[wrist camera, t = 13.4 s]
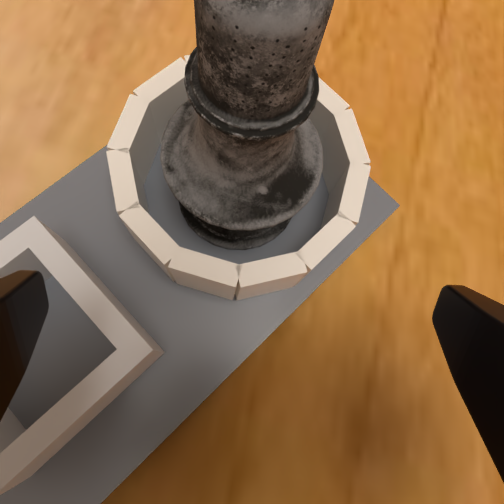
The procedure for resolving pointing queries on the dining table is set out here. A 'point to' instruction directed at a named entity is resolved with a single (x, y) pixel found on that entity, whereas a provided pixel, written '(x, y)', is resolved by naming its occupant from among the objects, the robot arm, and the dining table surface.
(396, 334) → the dining table surface
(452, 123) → the dining table surface
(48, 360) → the socket board
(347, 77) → the dining table surface
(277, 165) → the dark grey tiered column
